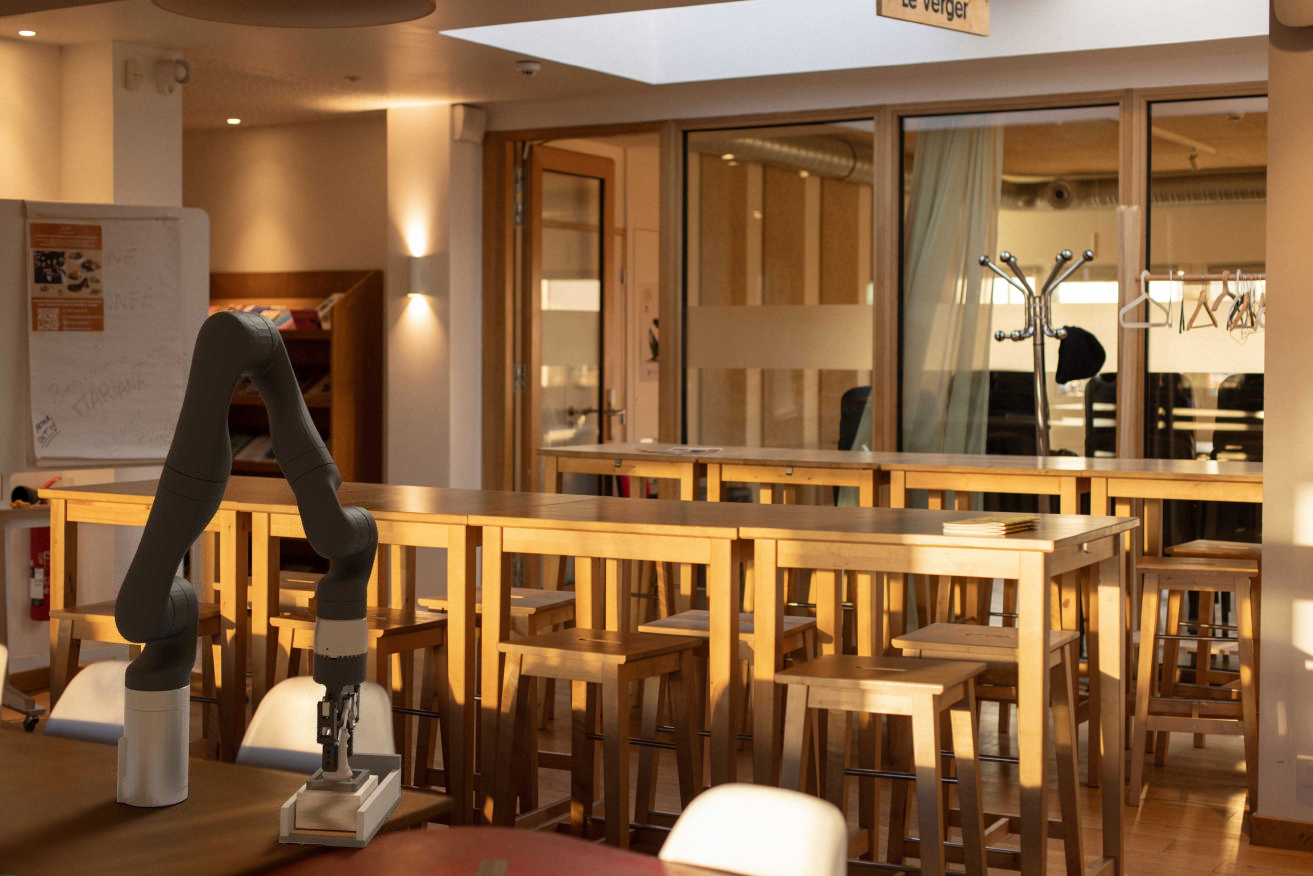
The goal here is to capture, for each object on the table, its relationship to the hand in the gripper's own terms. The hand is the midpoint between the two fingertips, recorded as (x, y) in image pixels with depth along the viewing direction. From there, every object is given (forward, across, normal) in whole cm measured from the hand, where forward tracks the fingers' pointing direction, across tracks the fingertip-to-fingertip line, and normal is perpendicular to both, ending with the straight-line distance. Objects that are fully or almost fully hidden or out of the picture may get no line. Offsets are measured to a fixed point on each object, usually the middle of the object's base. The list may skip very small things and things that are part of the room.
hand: (337, 763), depth 203 cm
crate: (+8, -1, 0) cm, 8 cm away
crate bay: (+9, -4, 0) cm, 10 cm away
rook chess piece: (+3, 0, 0) cm, 3 cm away
